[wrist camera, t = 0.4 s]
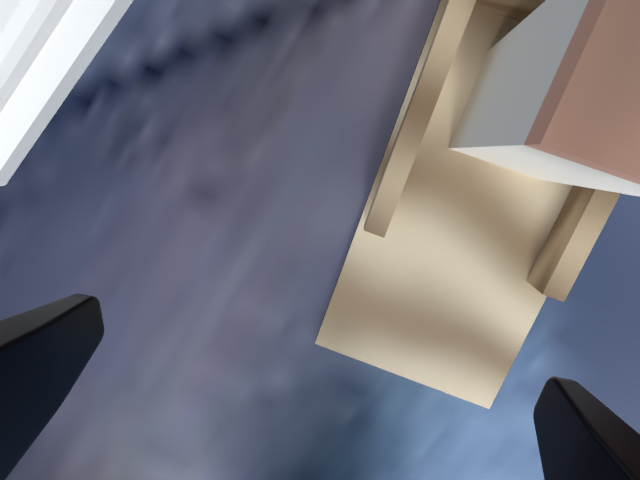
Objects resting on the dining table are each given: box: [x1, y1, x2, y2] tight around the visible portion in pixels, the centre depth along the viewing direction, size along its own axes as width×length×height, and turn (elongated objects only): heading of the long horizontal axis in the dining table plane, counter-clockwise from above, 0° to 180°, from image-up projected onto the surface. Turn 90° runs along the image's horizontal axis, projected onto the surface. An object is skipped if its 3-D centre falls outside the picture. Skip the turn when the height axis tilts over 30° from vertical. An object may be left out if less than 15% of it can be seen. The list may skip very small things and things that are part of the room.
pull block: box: [449, 0, 640, 196], centre depth 13 cm, size 4×4×11 cm
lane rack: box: [315, 0, 621, 409], centre depth 19 cm, size 19×10×4 cm, turn 161°
